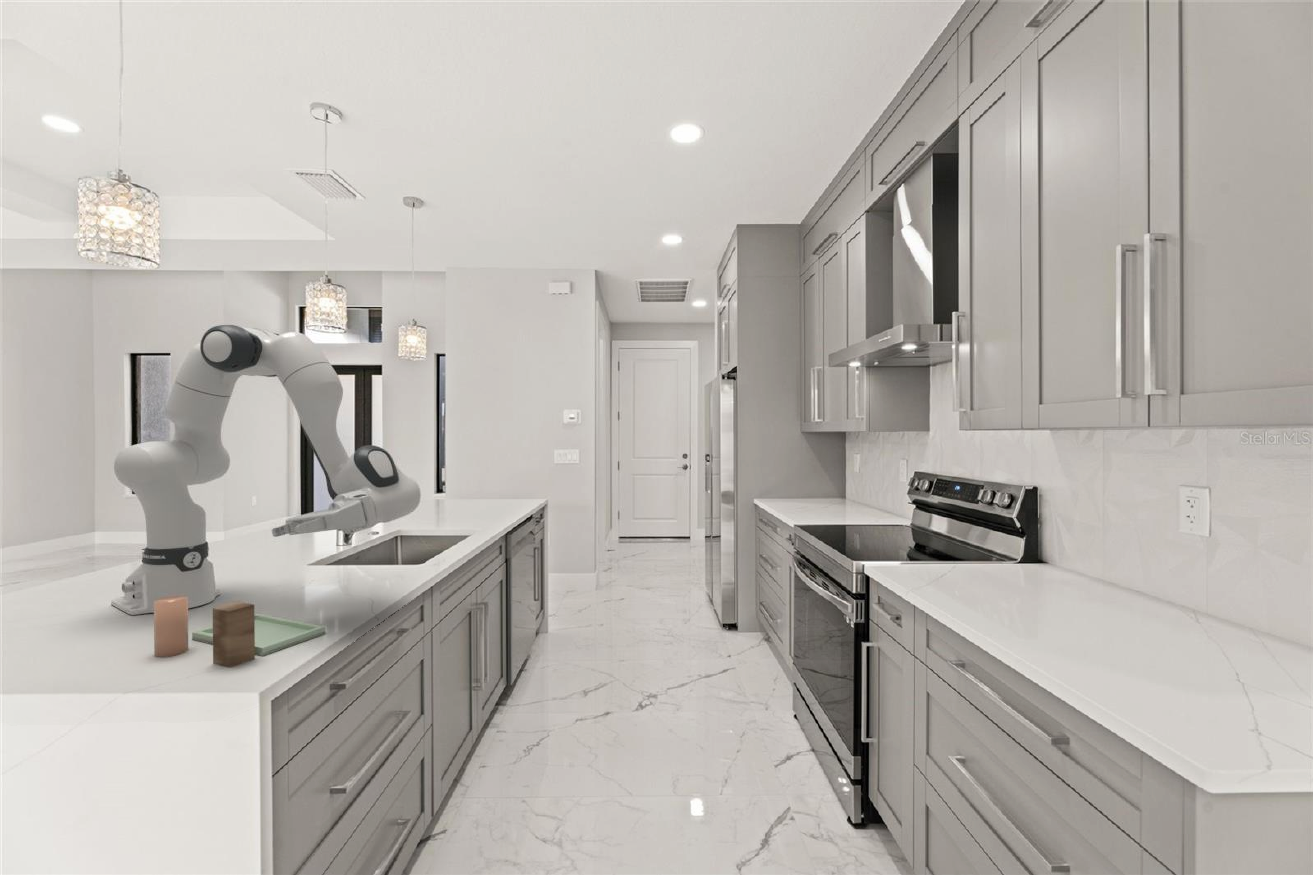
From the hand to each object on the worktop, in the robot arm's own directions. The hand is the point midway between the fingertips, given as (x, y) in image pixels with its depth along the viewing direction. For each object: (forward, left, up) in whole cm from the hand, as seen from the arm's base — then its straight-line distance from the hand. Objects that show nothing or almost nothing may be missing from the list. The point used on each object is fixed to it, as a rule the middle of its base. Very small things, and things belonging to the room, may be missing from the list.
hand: (284, 531), depth 120 cm
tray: (-7, -1, -22) cm, 23 cm away
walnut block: (+1, -11, -22) cm, 24 cm away
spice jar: (-14, -13, -22) cm, 29 cm away
